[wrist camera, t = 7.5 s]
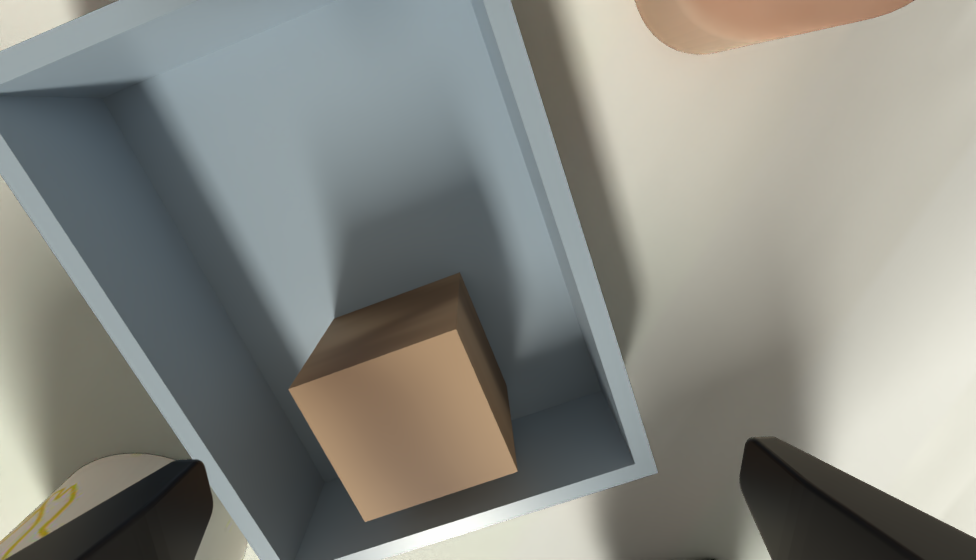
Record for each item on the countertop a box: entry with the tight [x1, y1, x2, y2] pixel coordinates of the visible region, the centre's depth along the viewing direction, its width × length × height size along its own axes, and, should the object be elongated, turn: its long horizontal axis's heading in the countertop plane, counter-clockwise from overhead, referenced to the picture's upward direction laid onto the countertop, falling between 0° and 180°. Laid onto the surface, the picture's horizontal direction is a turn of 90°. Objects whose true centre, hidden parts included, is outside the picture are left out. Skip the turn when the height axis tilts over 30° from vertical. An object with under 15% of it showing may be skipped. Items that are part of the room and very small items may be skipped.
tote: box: [0, 0, 658, 560], centre depth 16 cm, size 17×13×5 cm
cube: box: [288, 272, 518, 522], centre depth 17 cm, size 5×5×5 cm
